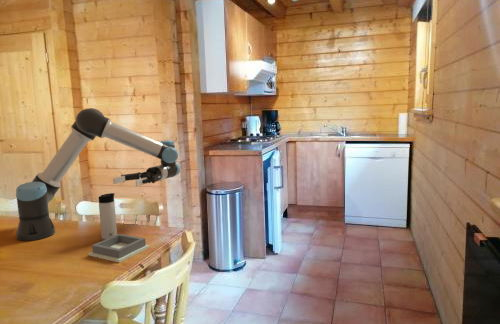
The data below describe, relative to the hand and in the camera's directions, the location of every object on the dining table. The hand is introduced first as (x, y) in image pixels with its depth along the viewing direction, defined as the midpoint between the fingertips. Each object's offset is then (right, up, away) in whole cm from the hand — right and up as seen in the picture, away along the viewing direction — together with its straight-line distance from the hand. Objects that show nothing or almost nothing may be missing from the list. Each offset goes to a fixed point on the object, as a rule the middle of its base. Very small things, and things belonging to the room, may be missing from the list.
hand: (124, 182), depth 167 cm
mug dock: (+5, -26, -21) cm, 34 cm away
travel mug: (-4, -24, -6) cm, 26 cm away
